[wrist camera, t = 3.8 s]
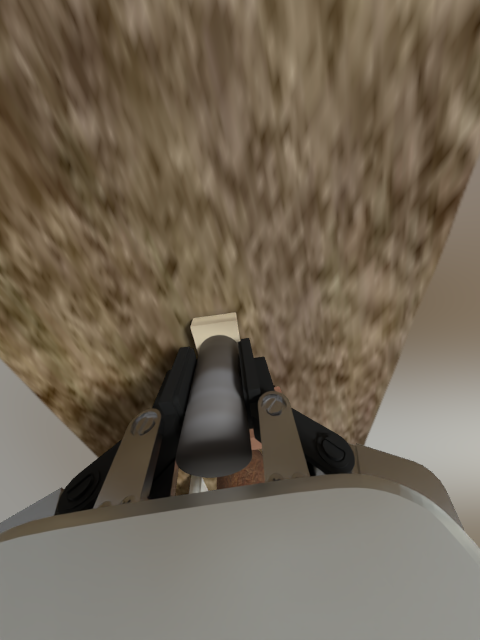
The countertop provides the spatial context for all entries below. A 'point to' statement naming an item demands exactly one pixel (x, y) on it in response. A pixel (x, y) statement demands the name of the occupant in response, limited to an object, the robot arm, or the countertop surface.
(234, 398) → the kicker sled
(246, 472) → the coconut
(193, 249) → the countertop surface
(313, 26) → the countertop surface
